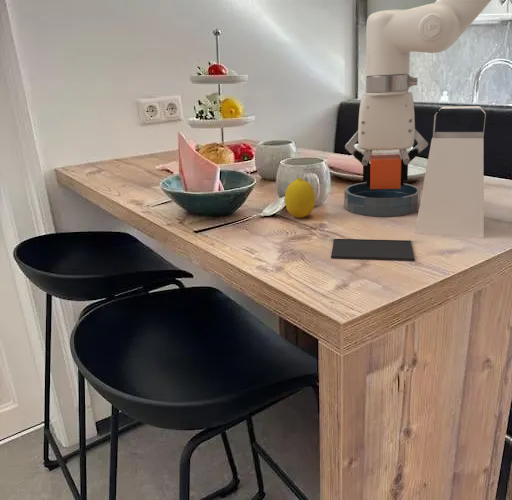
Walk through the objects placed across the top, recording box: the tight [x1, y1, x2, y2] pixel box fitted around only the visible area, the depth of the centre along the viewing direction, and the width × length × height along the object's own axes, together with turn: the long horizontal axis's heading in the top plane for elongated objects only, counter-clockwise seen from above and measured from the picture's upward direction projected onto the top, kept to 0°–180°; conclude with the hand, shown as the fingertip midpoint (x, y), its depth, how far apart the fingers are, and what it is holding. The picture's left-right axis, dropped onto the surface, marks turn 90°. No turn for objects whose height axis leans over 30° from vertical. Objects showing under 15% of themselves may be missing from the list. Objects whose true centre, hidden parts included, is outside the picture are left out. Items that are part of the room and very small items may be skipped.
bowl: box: [343, 181, 422, 218], centre depth 98 cm, size 14×14×4 cm
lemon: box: [284, 177, 316, 219], centre depth 93 cm, size 6×6×8 cm
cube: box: [369, 153, 402, 189], centre depth 95 cm, size 6×6×6 cm
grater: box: [414, 105, 487, 239], centre depth 82 cm, size 10×10×20 cm
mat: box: [330, 238, 416, 262], centre depth 77 cm, size 12×9×1 cm
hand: (384, 183), depth 96 cm, fingers closed on cube, 5 cm apart
